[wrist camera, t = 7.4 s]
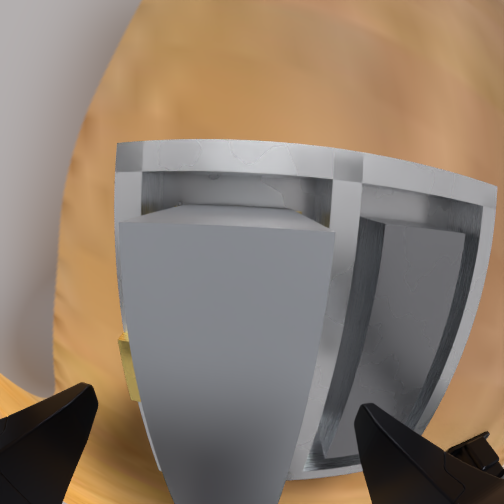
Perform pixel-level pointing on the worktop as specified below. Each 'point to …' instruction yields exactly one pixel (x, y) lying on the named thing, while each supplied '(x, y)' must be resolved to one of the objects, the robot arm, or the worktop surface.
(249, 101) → the worktop surface
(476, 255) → the rack
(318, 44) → the worktop surface
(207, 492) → the panel
